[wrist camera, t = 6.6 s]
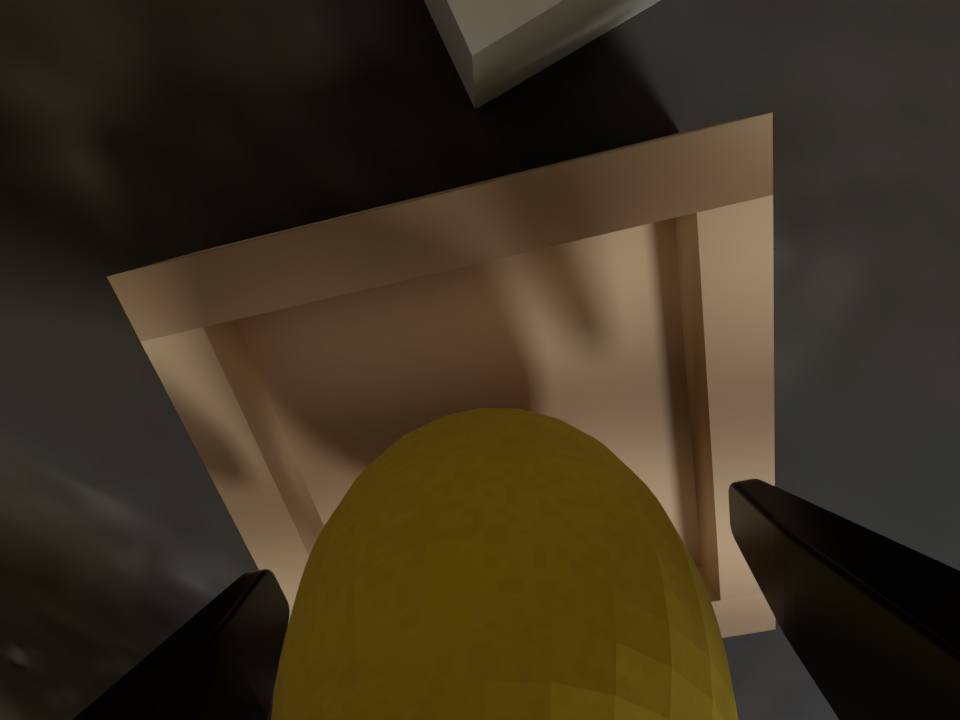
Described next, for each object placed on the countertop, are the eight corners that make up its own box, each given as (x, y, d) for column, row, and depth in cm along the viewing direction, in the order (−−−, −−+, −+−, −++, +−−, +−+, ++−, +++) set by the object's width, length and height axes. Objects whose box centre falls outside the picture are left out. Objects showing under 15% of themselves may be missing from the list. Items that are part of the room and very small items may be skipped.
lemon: (552, 594, 12) (681, 1327, 4) (336, 521, 11) (14, 1234, 3) (665, 404, 10) (1234, 1046, 2) (419, 304, 9) (147, 761, 2)
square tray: (707, 525, 14) (775, 629, 11) (360, 587, 15) (327, 700, 12) (680, 132, 10) (772, 112, 7) (214, 246, 11) (106, 276, 8)
